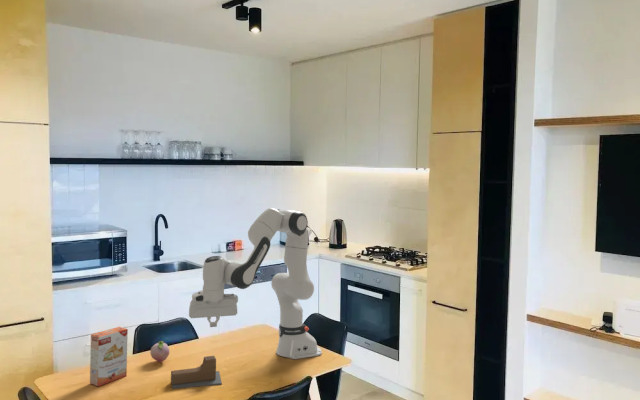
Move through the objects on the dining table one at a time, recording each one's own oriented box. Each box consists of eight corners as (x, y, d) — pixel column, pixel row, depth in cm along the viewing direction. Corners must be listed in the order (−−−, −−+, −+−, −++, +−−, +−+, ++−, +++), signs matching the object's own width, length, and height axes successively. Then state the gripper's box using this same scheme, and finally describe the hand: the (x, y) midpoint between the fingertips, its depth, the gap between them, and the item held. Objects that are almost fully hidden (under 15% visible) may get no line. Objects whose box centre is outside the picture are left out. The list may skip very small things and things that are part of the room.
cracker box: (98, 387, 205) (98, 336, 204) (89, 383, 209) (89, 334, 207) (127, 376, 217) (128, 328, 216) (118, 372, 220) (119, 325, 219)
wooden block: (214, 355, 218) (171, 359, 212) (216, 359, 214) (172, 363, 208) (214, 375, 219) (170, 381, 212) (215, 379, 215) (172, 385, 208)
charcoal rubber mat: (218, 372, 224) (219, 371, 224) (221, 384, 212) (221, 383, 212) (172, 376, 219) (172, 374, 219) (171, 388, 206) (172, 387, 206)
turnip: (149, 359, 237) (149, 338, 236) (167, 357, 240) (167, 336, 239) (151, 367, 228) (151, 345, 227) (170, 364, 231) (170, 343, 231)
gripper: (237, 291, 221) (236, 322, 222) (188, 294, 215) (188, 326, 216) (238, 295, 215) (238, 327, 216) (189, 297, 209) (189, 330, 210)
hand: (213, 326), depth 216 cm, fingers closed
